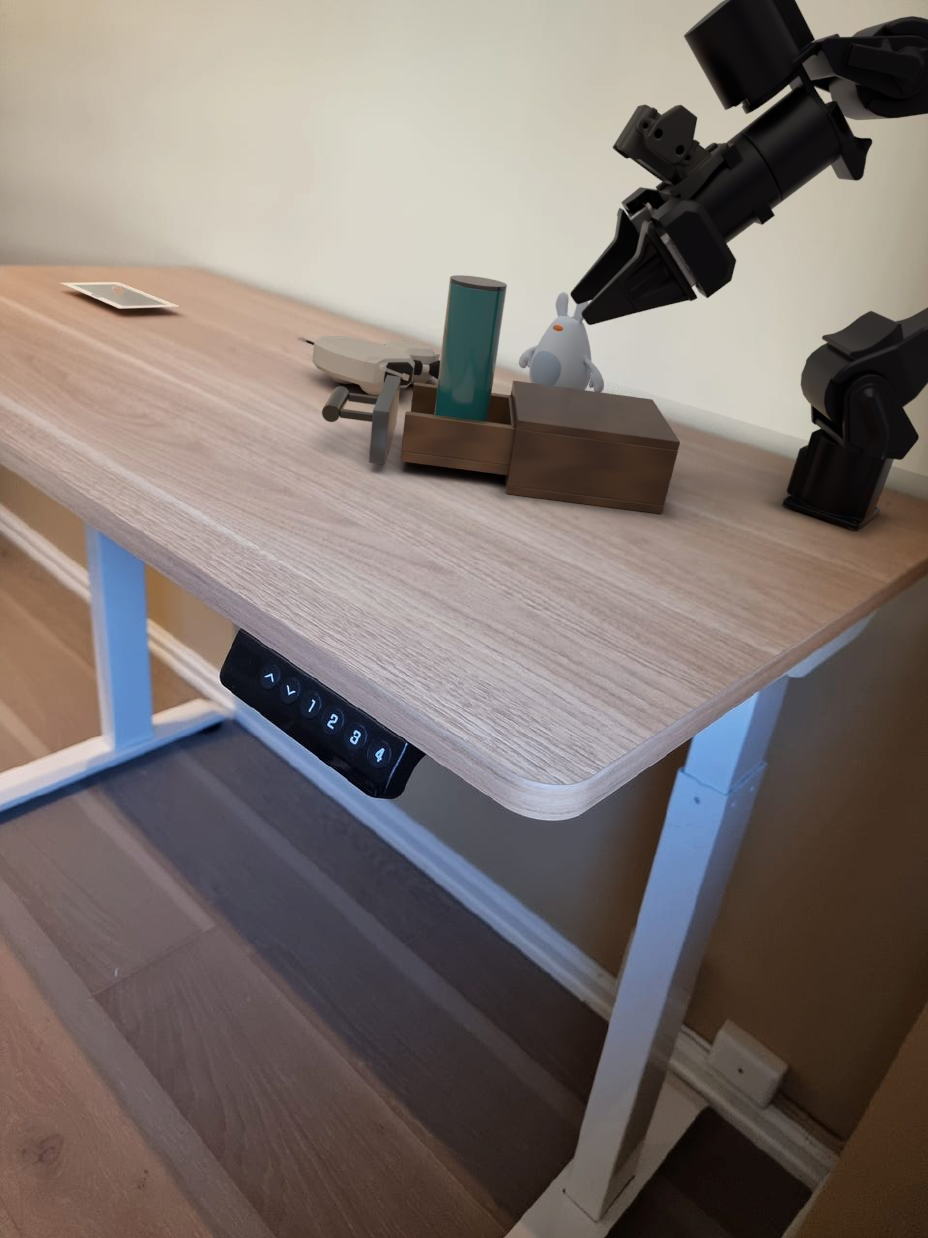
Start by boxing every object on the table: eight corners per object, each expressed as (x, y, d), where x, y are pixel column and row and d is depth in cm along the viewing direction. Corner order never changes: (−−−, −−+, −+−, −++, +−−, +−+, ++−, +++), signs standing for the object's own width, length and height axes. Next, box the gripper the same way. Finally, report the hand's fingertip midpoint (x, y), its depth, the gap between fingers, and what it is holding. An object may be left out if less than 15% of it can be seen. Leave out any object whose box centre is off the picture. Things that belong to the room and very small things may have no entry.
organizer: (505, 493, 69) (517, 419, 66) (502, 445, 80) (512, 380, 77) (662, 514, 70) (680, 441, 67) (637, 463, 80) (652, 399, 78)
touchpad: (119, 290, 118) (118, 273, 117) (179, 315, 110) (179, 297, 108) (60, 291, 113) (59, 273, 112) (119, 317, 104) (118, 298, 103)
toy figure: (493, 406, 91) (511, 283, 86) (531, 400, 95) (550, 283, 90) (574, 436, 85) (600, 307, 80) (611, 428, 90) (637, 305, 84)
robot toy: (391, 372, 101) (288, 374, 90) (397, 331, 100) (292, 329, 89) (472, 401, 95) (371, 407, 84) (480, 358, 93) (378, 359, 82)
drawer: (314, 455, 68) (317, 402, 66) (335, 415, 78) (338, 368, 76) (514, 481, 69) (522, 429, 67) (510, 439, 79) (517, 392, 77)
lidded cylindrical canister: (488, 450, 72) (512, 288, 66) (435, 446, 71) (454, 282, 65) (478, 433, 76) (500, 279, 70) (428, 429, 75) (445, 272, 69)
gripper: (674, 73, 69) (512, 209, 74) (733, 53, 52) (520, 229, 57) (746, 198, 73) (588, 319, 78) (822, 216, 56) (616, 368, 61)
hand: (578, 308), depth 68 cm, fingers open, 9 cm apart
